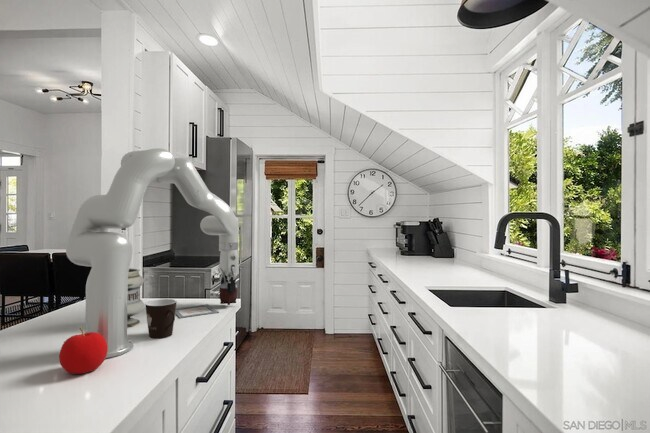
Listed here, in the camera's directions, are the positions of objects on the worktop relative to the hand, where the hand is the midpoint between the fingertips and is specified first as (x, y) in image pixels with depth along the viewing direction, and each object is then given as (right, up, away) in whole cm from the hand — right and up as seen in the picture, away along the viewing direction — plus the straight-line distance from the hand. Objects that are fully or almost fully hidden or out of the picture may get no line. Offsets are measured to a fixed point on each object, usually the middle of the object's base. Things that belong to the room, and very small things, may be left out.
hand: (227, 290), depth 141 cm
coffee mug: (-10, -6, -36) cm, 38 cm away
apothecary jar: (-28, -6, -24) cm, 38 cm away
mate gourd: (0, -5, 0) cm, 5 cm away
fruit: (-17, -6, -59) cm, 62 cm away
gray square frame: (-11, -6, -7) cm, 14 cm away
